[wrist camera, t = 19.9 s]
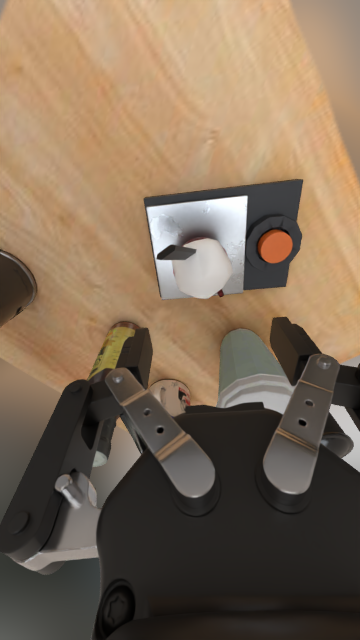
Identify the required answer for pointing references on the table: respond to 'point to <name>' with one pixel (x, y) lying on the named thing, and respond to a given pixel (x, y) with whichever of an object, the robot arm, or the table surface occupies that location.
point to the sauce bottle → (99, 372)
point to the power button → (274, 246)
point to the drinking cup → (336, 438)
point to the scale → (255, 224)
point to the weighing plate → (200, 221)
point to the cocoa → (199, 266)
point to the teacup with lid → (171, 396)
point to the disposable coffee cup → (251, 373)
